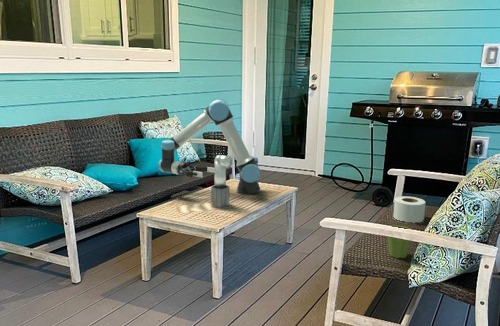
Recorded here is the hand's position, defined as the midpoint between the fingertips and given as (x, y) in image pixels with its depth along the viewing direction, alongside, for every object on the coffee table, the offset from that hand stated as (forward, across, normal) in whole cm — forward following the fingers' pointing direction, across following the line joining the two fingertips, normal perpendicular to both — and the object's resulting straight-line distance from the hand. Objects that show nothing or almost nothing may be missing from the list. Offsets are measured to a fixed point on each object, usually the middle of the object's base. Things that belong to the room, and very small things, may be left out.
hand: (209, 172), depth 249 cm
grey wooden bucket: (+7, 0, -18) cm, 20 cm away
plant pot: (+109, +13, -20) cm, 112 cm away
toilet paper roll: (+103, -40, -20) cm, 112 cm away
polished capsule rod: (+9, 0, -10) cm, 13 cm away
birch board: (+1, +7, -20) cm, 21 cm away
